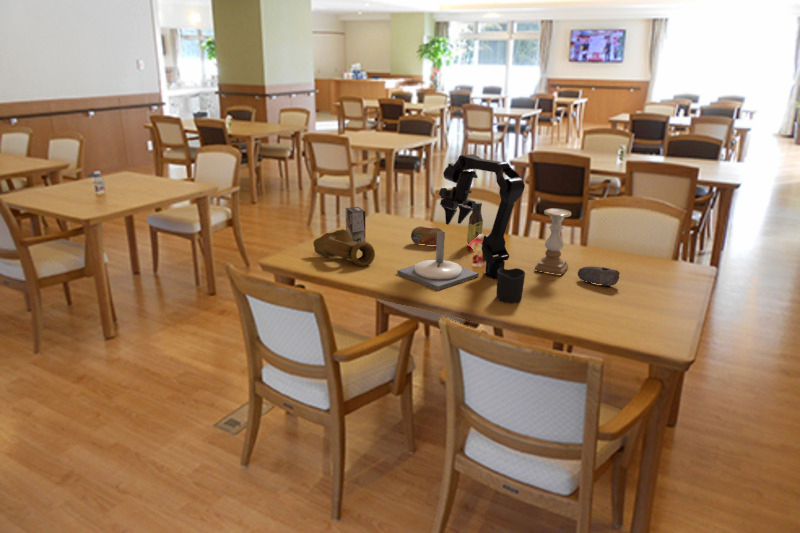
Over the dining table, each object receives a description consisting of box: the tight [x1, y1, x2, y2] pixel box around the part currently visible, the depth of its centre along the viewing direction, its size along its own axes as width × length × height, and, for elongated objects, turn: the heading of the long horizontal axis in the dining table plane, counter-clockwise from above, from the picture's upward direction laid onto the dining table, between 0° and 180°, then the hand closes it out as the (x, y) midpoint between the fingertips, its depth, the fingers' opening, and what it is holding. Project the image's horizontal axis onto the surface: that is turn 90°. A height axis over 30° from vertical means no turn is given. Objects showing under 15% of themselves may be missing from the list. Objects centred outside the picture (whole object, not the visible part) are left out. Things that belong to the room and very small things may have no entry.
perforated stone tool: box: [577, 266, 621, 287], centre depth 223 cm, size 15×5×7 cm, turn 54°
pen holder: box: [496, 268, 526, 304], centre depth 207 cm, size 9×9×10 cm
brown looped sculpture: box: [313, 228, 376, 267], centre depth 243 cm, size 18×13×22 cm
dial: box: [414, 230, 462, 280], centre depth 226 cm, size 18×18×14 cm
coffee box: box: [345, 206, 367, 243], centre depth 261 cm, size 9×6×16 cm
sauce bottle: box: [466, 201, 484, 244], centre depth 262 cm, size 7×6×20 cm
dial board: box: [396, 258, 479, 291], centre depth 229 cm, size 22×22×2 cm
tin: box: [410, 226, 446, 245], centre depth 264 cm, size 15×3×8 cm, turn 73°
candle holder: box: [534, 208, 572, 276], centre depth 234 cm, size 11×11×24 cm
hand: (453, 223), depth 239 cm, fingers open, 9 cm apart
